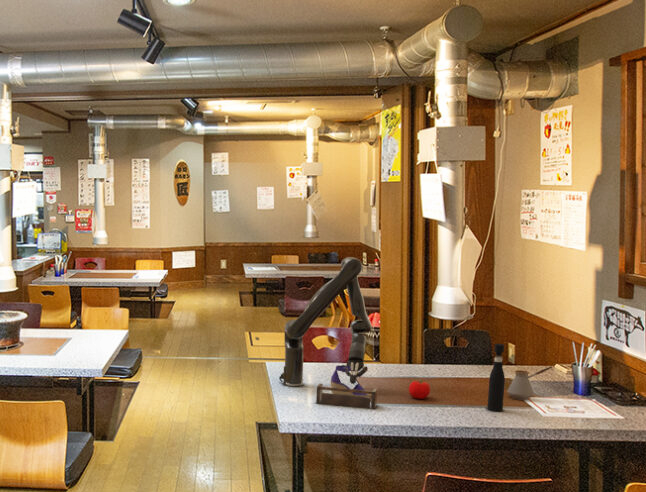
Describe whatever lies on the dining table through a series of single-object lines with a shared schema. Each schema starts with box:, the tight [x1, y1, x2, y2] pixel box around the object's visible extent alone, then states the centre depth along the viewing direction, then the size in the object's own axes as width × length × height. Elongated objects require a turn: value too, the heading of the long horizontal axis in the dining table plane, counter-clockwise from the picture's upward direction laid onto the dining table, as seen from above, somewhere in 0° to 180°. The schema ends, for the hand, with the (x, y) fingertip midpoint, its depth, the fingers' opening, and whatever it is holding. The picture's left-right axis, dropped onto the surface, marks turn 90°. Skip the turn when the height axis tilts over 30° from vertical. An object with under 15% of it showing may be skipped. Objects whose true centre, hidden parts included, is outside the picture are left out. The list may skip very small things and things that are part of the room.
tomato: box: [408, 380, 431, 400], centre depth 360 cm, size 9×10×8 cm
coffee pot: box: [506, 366, 555, 401], centre depth 359 cm, size 21×12×15 cm, turn 97°
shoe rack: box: [315, 383, 378, 410], centre depth 350 cm, size 26×7×8 cm, turn 69°
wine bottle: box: [486, 343, 506, 413], centre depth 338 cm, size 6×6×30 cm
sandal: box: [330, 364, 372, 398], centre depth 363 cm, size 8×20×15 cm, turn 78°
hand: (352, 383), depth 366 cm, fingers closed
